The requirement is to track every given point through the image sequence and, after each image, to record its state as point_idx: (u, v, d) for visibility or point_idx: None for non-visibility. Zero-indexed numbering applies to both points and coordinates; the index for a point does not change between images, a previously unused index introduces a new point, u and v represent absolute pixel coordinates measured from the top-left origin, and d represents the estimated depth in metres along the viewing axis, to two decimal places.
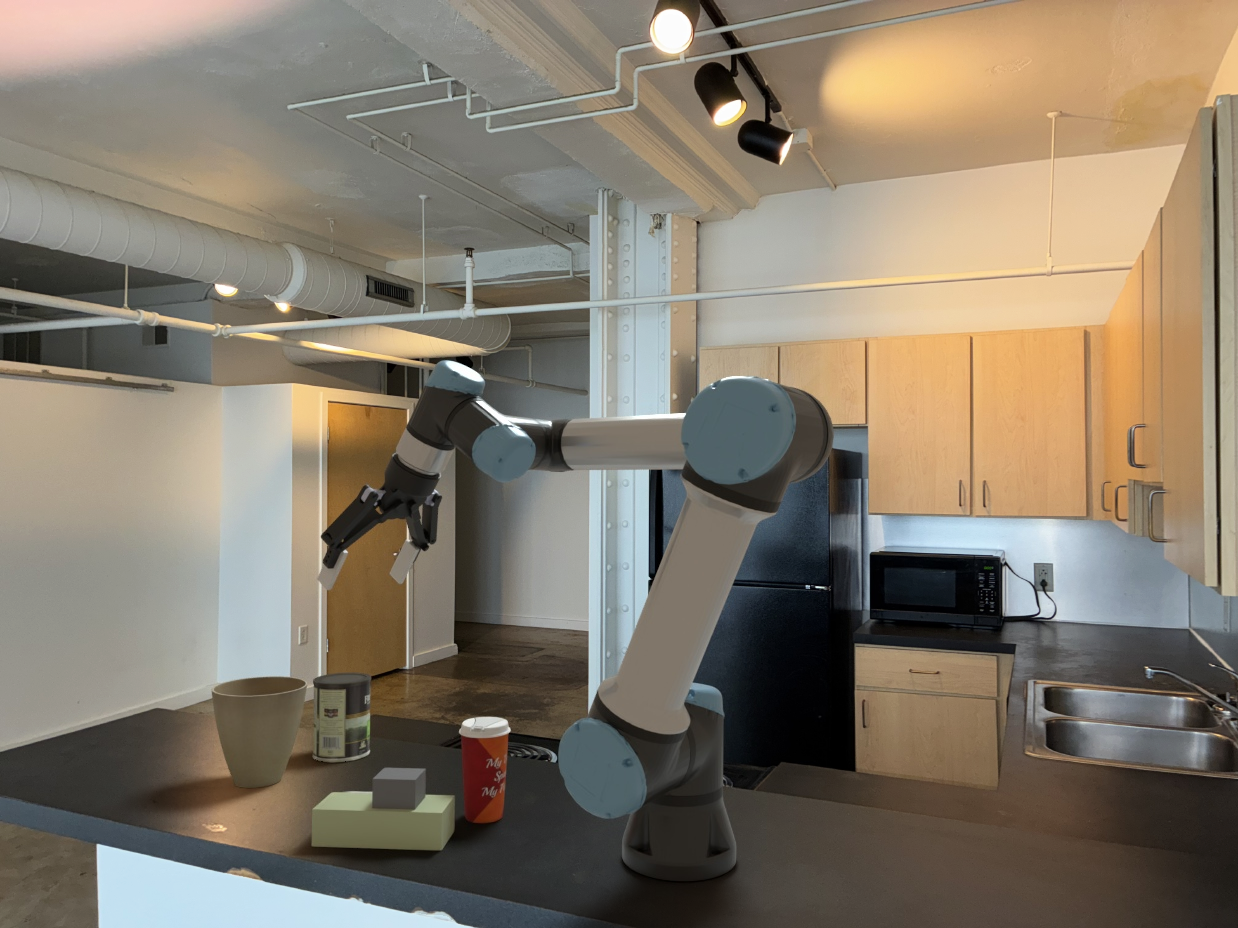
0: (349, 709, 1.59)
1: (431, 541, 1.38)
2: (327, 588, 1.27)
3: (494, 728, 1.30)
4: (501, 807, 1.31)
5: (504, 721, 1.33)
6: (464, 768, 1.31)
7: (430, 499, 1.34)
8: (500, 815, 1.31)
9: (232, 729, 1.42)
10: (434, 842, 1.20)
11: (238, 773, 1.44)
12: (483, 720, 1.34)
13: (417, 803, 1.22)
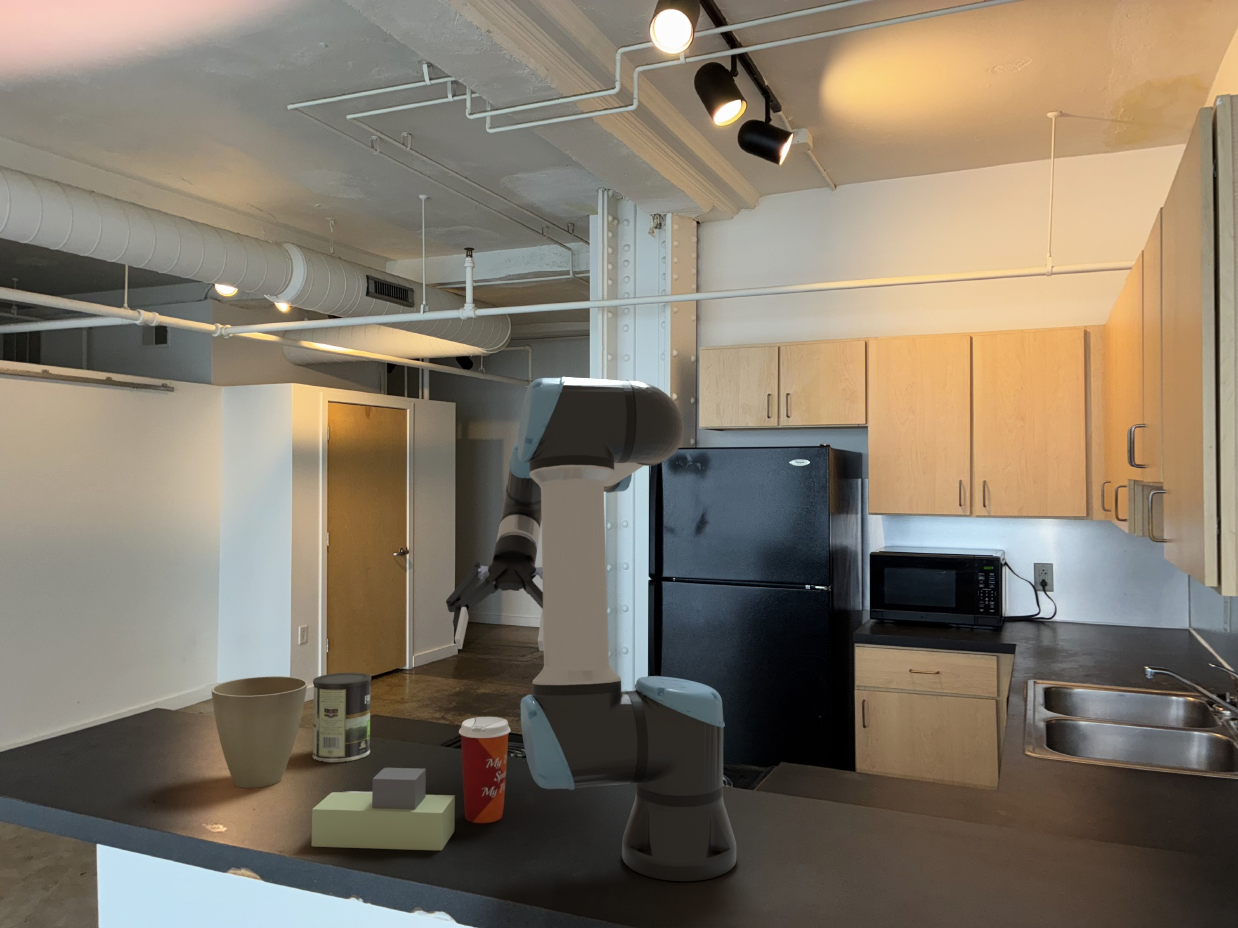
0: (349, 709, 1.59)
1: None
2: (455, 638, 1.44)
3: (494, 728, 1.30)
4: (501, 807, 1.31)
5: (504, 721, 1.33)
6: (464, 768, 1.31)
7: None
8: (500, 815, 1.31)
9: (232, 729, 1.42)
10: (434, 842, 1.20)
11: (238, 773, 1.44)
12: (483, 720, 1.34)
13: (417, 803, 1.22)
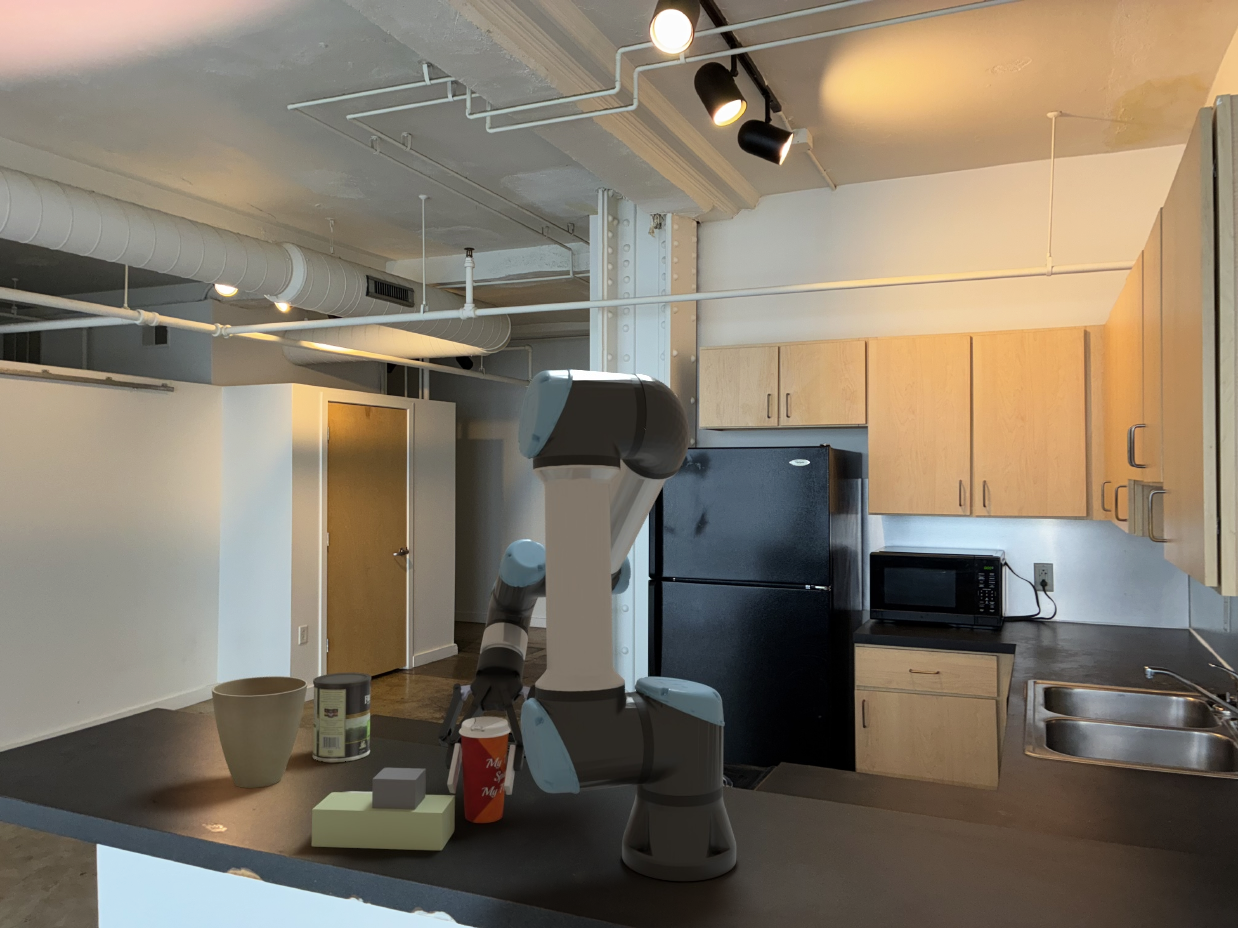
0: (349, 709, 1.59)
1: None
2: (447, 782, 1.29)
3: (494, 728, 1.30)
4: (501, 807, 1.31)
5: (504, 721, 1.33)
6: (464, 767, 1.31)
7: None
8: (500, 815, 1.31)
9: (232, 729, 1.42)
10: (434, 842, 1.20)
11: (238, 773, 1.44)
12: (483, 720, 1.34)
13: (417, 803, 1.22)
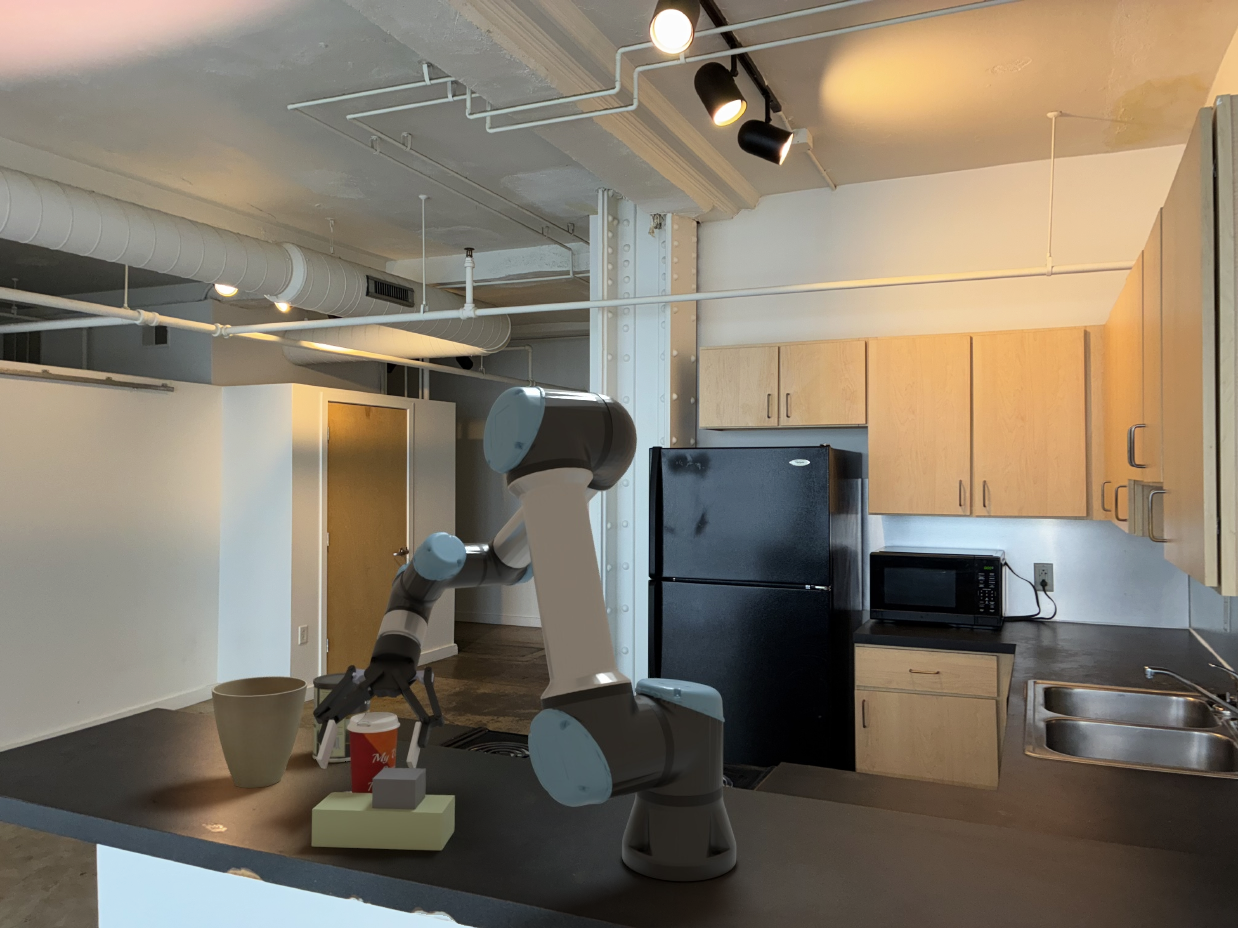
0: None
1: (435, 714, 1.35)
2: (317, 757, 1.30)
3: (381, 723, 1.30)
4: None
5: (393, 716, 1.33)
6: (351, 762, 1.31)
7: None
8: None
9: (232, 729, 1.42)
10: (434, 842, 1.20)
11: (238, 773, 1.44)
12: (373, 715, 1.34)
13: (417, 803, 1.22)
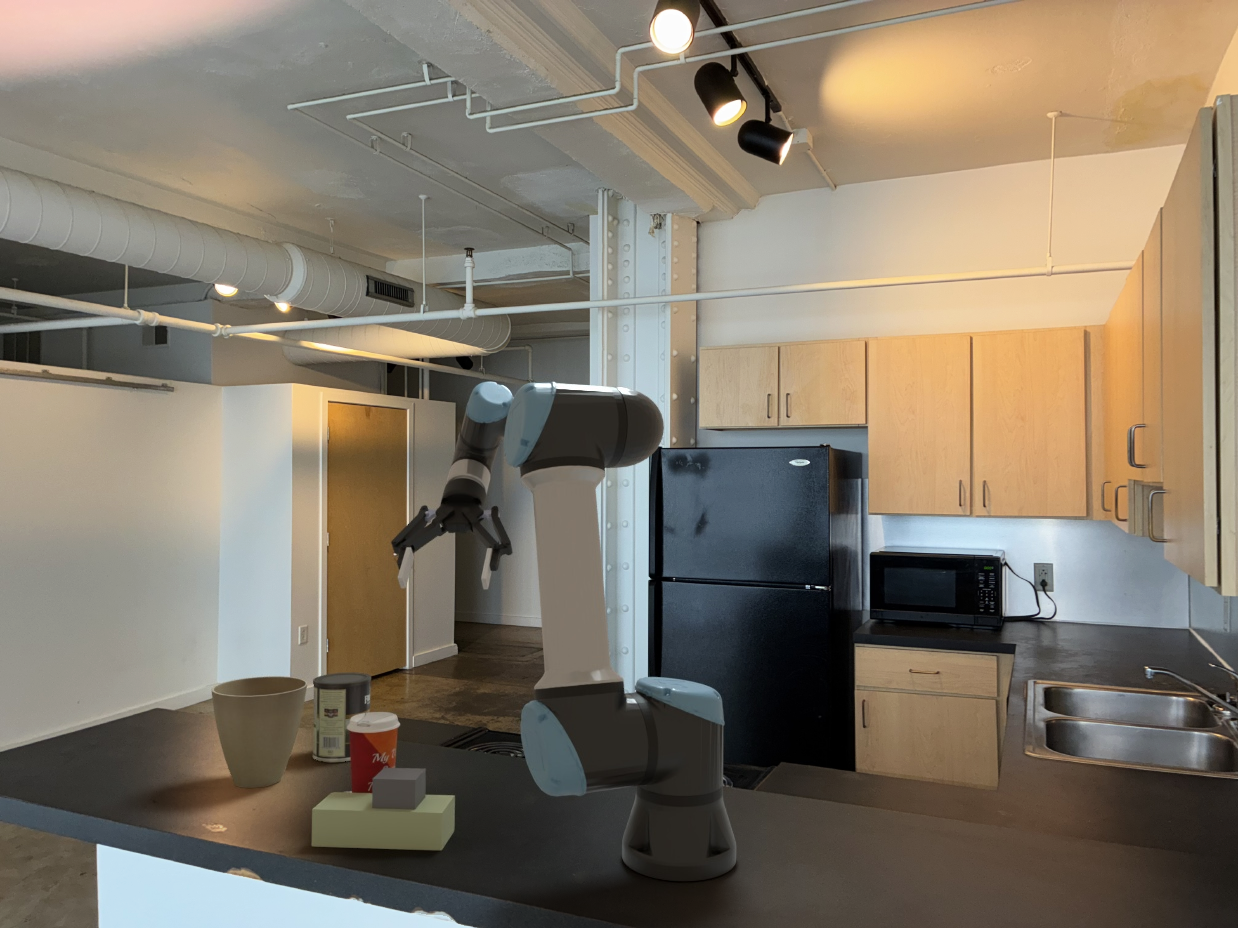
0: (349, 709, 1.59)
1: (504, 542, 1.47)
2: (398, 576, 1.42)
3: (381, 723, 1.30)
4: None
5: (393, 716, 1.33)
6: (351, 762, 1.31)
7: None
8: None
9: (232, 729, 1.42)
10: (434, 842, 1.20)
11: (238, 773, 1.44)
12: (373, 715, 1.34)
13: (417, 803, 1.22)
